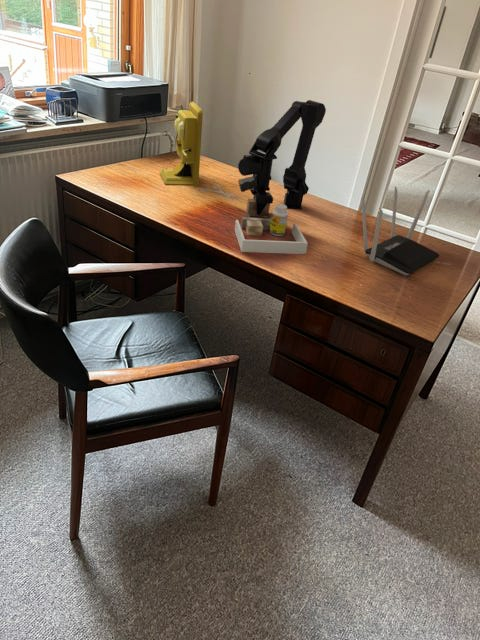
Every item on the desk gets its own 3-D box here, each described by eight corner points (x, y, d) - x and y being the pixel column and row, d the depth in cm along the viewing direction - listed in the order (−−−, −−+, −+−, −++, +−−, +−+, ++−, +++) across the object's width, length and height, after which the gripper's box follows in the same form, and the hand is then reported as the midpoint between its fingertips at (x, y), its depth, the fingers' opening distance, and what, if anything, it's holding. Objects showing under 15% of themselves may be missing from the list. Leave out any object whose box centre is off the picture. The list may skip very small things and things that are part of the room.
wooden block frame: (276, 214, 185) (278, 200, 182) (285, 230, 172) (287, 216, 169) (235, 211, 182) (237, 197, 179) (241, 228, 169) (243, 213, 166)
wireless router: (399, 284, 148) (420, 224, 136) (338, 255, 160) (352, 198, 149) (444, 256, 169) (465, 202, 158) (387, 233, 181) (403, 181, 170)
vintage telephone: (155, 166, 217) (156, 95, 201) (185, 167, 222) (188, 97, 205) (167, 190, 193) (169, 112, 176) (201, 190, 197) (206, 114, 181)
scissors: (213, 183, 206) (249, 197, 196) (213, 185, 206) (248, 199, 197) (196, 188, 199) (232, 202, 189) (196, 189, 199) (232, 204, 189)
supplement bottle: (266, 230, 171) (271, 203, 165) (280, 230, 172) (285, 202, 167) (272, 237, 166) (277, 209, 161) (287, 236, 168) (292, 208, 163)
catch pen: (293, 232, 172) (295, 222, 169) (305, 254, 158) (307, 243, 156) (234, 230, 168) (235, 219, 165) (241, 251, 154) (242, 240, 152)
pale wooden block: (259, 229, 171) (260, 220, 169) (261, 235, 167) (263, 226, 165) (245, 229, 170) (246, 220, 168) (247, 235, 166) (248, 225, 164)
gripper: (237, 162, 179) (233, 202, 188) (244, 179, 164) (239, 221, 173) (266, 164, 181) (261, 203, 190) (276, 181, 166) (269, 222, 175)
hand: (257, 212), depth 182 cm, fingers open, 4 cm apart
